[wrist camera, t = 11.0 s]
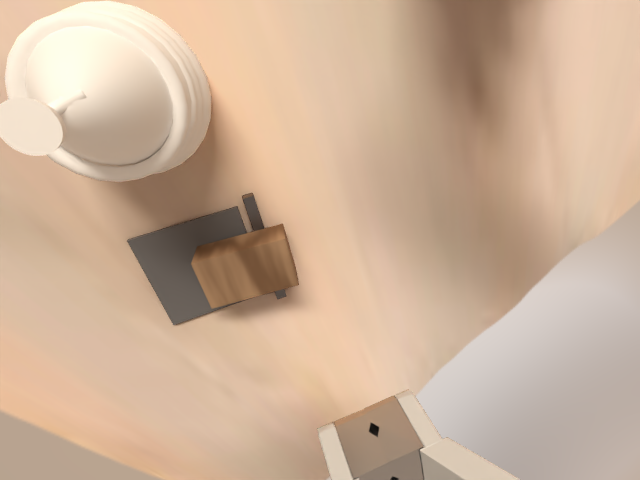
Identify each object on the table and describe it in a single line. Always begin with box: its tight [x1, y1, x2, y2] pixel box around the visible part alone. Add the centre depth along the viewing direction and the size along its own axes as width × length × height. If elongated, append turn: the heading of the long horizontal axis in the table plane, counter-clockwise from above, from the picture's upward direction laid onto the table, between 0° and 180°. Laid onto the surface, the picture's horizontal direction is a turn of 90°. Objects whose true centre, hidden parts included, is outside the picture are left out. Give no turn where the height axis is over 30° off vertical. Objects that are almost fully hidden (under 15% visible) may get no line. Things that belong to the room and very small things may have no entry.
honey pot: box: [0, 1, 211, 182], centre depth 24 cm, size 13×13×18 cm
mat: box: [127, 206, 250, 325], centre depth 40 cm, size 12×12×1 cm
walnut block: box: [191, 224, 299, 309], centre depth 38 cm, size 4×6×10 cm
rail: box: [242, 193, 286, 299], centre depth 41 cm, size 1×14×1 cm, turn 14°
